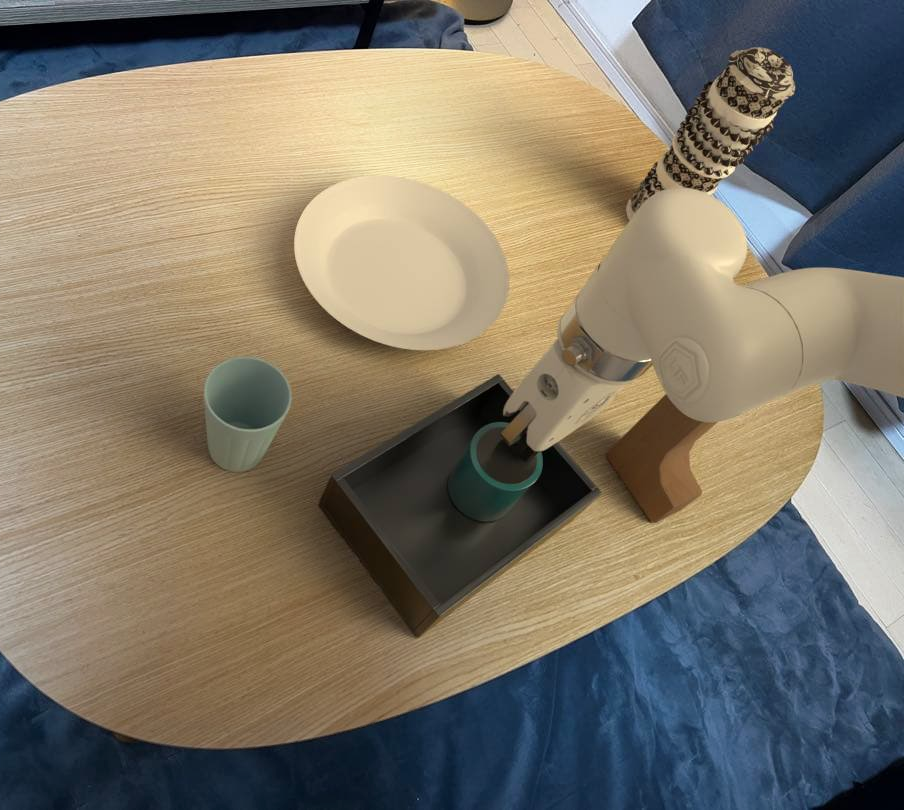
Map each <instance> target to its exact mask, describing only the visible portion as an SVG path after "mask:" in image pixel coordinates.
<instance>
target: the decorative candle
mask: <svg viewBox="0 0 904 810" xmlns="http://www.w3.org/2000/svg"><path fill="white" fill-rule="evenodd" d="M793 72H794V71H793V70H792V66H791V64H789V62H788V61H787V60H786V59H785V57H783V56H782V55H780V54H779V53H778V52H775V51H773V50H771V49H769V48H766V47H762V46H756V47H755V46H754V47H749V48H746V49H740V50H739V49H738V50H735V51H733V52H732V53H731V54H730V55H729V58H728V62H727V65H726V66H725V68H724V69H723V72H722V73H721V74H720V75H718V76H717V77H715V78H716V79H714V81H707V82H705V83H704V84H703V89H702V90H700V96H697V97H696V98H695V99H694V104H693V105H692V106H691V107H689V109H688V113H686V115H685V116H684V120H682V121H681V122H680V123H679V127H678V129H676V132H675V133H674V134H673V138H672V140H671V145H670V146H669V149H668V150H667V151H666V152H664V153H663V154H662V156H661V157H660V159H659V160H658V161H655V162H654V163H653V166H652V167H651V169H650V170H649V171H648V172H647V175H646V176H645V177H644V179H643V180H642V181H641V182H640V183H639V186H637V188H636V189H635V190H634V192H633V194H632V196H631V198H630V199H629V200H628V201H627V204H626V207H625V212H626V216H627V219H628V222H629V221H630V220H631V218H632V217H633V215H634V214H635V213H636V211H637V210H638V209H639V208H640V206H641V205H642V204H643V203H644V202H645V201H646V200H647V199H648V198H650V197H651V196H652V195H654V194H655V193H657V192H660V191H662V190H665V189H670V188H676V187H683V188H690V189H695V190H699V191H702V192H704V193H707V194H709V195H711V196H713V194H714V193H715V192H716V190H717V189H718V187H719V184H720V183H721V182H722V181H723V179H724V178H728V177H729V176H730V175H731V174H733V173H734V172H735V170H736V167H738V166H739V165H742V164H743V163H744V162H745V158H746V157H747V156H748V155H750V154H752V153H753V151H754V149H753V148H754V146H757V145H758V144H759V143H762V142H764V137H765V136H766V135H767V134H768V133H769V132H772V130H773V129H774V126H773V125H774V119H775V117H776V116H777V113H778V111H779V109H780V108H781V107H782V106H783V104H784V103H785V102H786V100H787V99H789V98H791V97H792V96H793V95H794V94H795V90H796V83H795V81H794V73H793Z"/></svg>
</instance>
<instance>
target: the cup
mask: <svg viewBox="0 0 904 810" xmlns="http://www.w3.org/2000/svg"><path fill="white" fill-rule="evenodd" d="M202 391H203V405H204V416H205V429H206V442H207V449H208V453H209V455H210V456H209V457H210V459H211V460H212V461H213V463H215V464H216V465H217V466H218V467H219V468H221V469H223V470H225V471H228V472H231V473H243V472H247V471H250V470H252V469H253V468H255V467H257V466H258V465H259V463H260V462H261V461H262V459H263V458H264V456H265V454H266V452H267V451H268V449H269V447H270V446H271V443H272V442H273V440H274V439H275V437H276V434H277V433H278V431H279V429H280V427H281V425H282V424H283V422H284V420H285V418H286V416H287V415H288V413H289V411H290V409H291V405H292V398H293V396H292V394H293V393H292V389H291V386H290V382H289V381H288V379H287V377H286V375H284V373H283V372H282V371H281V369H279V368H278V367H276V366H275V365H274V364H273V363H272V362H271V363H270V362H269V361H267V360H265V359H262V358H259V357H255V356H247V355H246V356H245V355H244V356H243V355H242V356H236V357H235V356H234V357H231V358H228V359H225V360H223V361H221V362H219V363H218V364H216V365H215V366H214V367H213V368H212V369H211V371H210V372H209V373H208V375H207V376H206V379H205V381H204V384H203V390H202Z"/></svg>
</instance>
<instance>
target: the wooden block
mask: <svg viewBox="0 0 904 810" xmlns="http://www.w3.org/2000/svg"><path fill="white" fill-rule="evenodd" d="M718 423H719V422H702V421H697V420H694V419H692V418H690V417H688V416H686V415H685V414H683V413H682V412H681V411H680V410H678V408H677V407H676V406H675V405H674V404H673V403H672V402H671V401H670V399H669V398H668V396H667V394H666V393H664V396H662V397H661V398H660V399H659V400H658V401H657V402H656V403H655V404H653V406H652V407H651V408H650V409H649V410H648V411H647V412H646V413H645V414H644V415H643V416H642V417H641V418H640V419H638V421H637V422H636V423H635V424H634V425H633V426H631V428H630V429H629V430H628V431H627V432H625V434H624V435H623V436H622V437H621V438H620V439H619V440H618V441H616V443H614V445H613V446H612V447H611V448H609V450H607V452H606V453H605V456H606V459H607V460H608V461H609V463H610V464H611V466H612V467H613V468H614V470H615V471H616V473H617V475H618V476H619V478H620V479H621V481H622V482H623V483H624V484H625V486H626V488H627V489H628V490H629V492H630V493H631V495H632V497H633V498H634V500H635V501H636V502H637V504H638V505H639V506H640V508H641V510H642V511H643V512H644V514H645V516H646V517H647V518H648V520H649V521H650V522H651V523H652V524H656V523H659V522H660V521H662V520H664V519H666V518H669V517H670V516H672V515H674V514H676V513H678V512H680V511H682V510H683V509H685V508H686V507H688V505H690V504H691V503H693V502H694V501H696V499H698V498H700V497H701V496H702V494H703V490H702V488H701V486H700V484H699V483H698V481H697V479H696V477H695V475H694V473H693V472H692V470H691V460H690V458H691V457H690V452H691V450H692V448H693V447H694V445H695V443H696V442H697V441H698V440H699V439H700V438H702V437H703V436H704V435H705V434H707V432H709V431H710V430H711V429H712V428H714V427H715V426H716V425H717V424H718Z"/></svg>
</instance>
